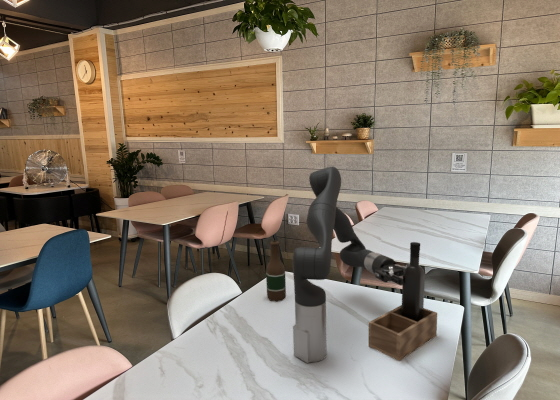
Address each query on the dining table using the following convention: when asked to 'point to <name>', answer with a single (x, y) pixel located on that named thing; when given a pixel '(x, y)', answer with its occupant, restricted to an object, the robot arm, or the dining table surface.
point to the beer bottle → (275, 275)
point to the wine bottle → (413, 286)
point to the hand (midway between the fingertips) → (412, 279)
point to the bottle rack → (401, 333)
